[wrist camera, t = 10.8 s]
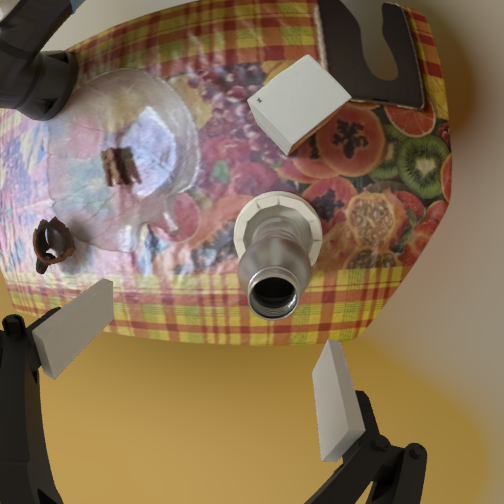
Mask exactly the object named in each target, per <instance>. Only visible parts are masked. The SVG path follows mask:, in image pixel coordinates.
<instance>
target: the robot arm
mask: <svg viewBox="0 0 504 504" xmlns="http://www.w3.org/2000/svg"><path fill="white" fill-rule="evenodd" d="M84 1H85V0H0V108H7V109H16V110H18V111H19V112H21V113H22V114H24V115H26V116H27V117H29V118H30V119H33V120H38V121H45V120H48V119H50V118H52V117H53V116H55V115H56V114H57V113H58V112H59V111H60V110H61V108H62V107H63V106H64V104H65V103H66V101H67V100H68V98H69V96H70V94H71V92H72V90H73V87H74V85H75V82H76V78H77V72H78V64H77V60H76V58H75V56H74V55H73V54H71V53H68V52H66V51H61V50H59V51H43V52H40V50H41V49H42V48H43V47H44V45H45V44H46V43H47V42H48V40H49V39H50V38H51V37H52V36H53V34H54V33H55V32H56V31H57V30H58V29H59V27H60V26H61V25H62V24H63V23H64V22H65V21H66V20H67V19H68V18H69V17H70V15H72V14H74V13H75V11H76V9H77V8H78V7H79V6H80V5H81V4H82V3H83V2H84ZM113 319H114V317H113V281H110V280H107V279H104V278H103V279H101V280H100V281H99V282H97V283H96V284H94V285H93V286H91V287H90V288H89V289H87V290H86V291H84V292H83V293H82V294H80V295H79V296H77V297H76V298H75V299H73V300H72V301H71V302H69V303H68V304H67V305H65V306H64V307H62V308H61V307H57V308H54V309H51V310H50V311H48V312H47V313H46V314H45V315H43V316H42V317H41V318H39V319H38V320H36V321H35V322H34V323H32V324H31V325H30V326H28V327H27V328H26V327H25V323H24V319H23V318H22V316H20V315H16V314H13V315H9V316H6V317H5V318H4V319H3V321H2V325H3V328H4V331H2V330H0V504H63V501H62V499H61V497H60V495H59V493H58V491H57V489H56V487H55V484H54V480H53V476H52V472H51V469H50V464H49V459H48V455H47V449H46V443H45V437H44V430H43V423H42V414H41V402H40V385H39V371H38V368H39V367H40V366H41V365H42V368H43V371H44V373H45V374H46V375H48V376H49V377H51V378H52V379H54V380H55V379H56V378H57V377H58V376H59V375H60V374H61V373H62V372H63V370H64V369H65V368H66V367H67V366H68V365H69V364H70V363H71V362H72V361H73V360H74V359H75V357H76V356H78V355H79V353H80V352H81V351H82V350H83V349H84V348H85V347H86V346H87V345H88V344H89V343H90V342H91V341H92V340H93V339H94V338H95V337H96V335H98V334H99V333H100V332H101V331H102V330H103V329H104V328H105V327H106V326H107V325H108V324H109V323H110V322H111V321H112V320H113ZM312 376H313V385H314V393H315V401H316V411H317V419H318V429H319V440H320V451H321V461H322V462H337V461H338V460H339V459H340V458H341V457H342V458H343V464H342V465H340V466H339V467H338V468H337V469H336V470H335V471H334V473H333V475H332V476H331V477H330V478H329V479H328V480H327V481H326V482H325V483H324V484H323V485H322V486H321V488H319V490H318V491H317V492H316V493H315V494H314V495H313V496H312V497H311V498H309V499H308V500H307V501H306V502H305V503H304V504H355V503H356V501H357V500H358V499H359V497H360V496H361V495H362V493H363V492H364V490H365V489H366V488H367V486H368V485H369V484H370V482H371V481H373V485H372V488H371V491H370V493H369V496H368V499H367V501H366V504H420V500H421V495H422V489H423V484H424V478H425V471H426V463H427V451H426V450H425V448H424V447H423V446H422V445H420V444H418V443H411V444H409V445H408V446H406V447H405V448H400V447H396V446H393V445H391V444H390V442H389V440H388V439H387V438H386V437H384V436H382V435H380V433H379V430H378V426H377V423H376V420H375V416H374V413H373V410H372V407H371V404H370V400H369V398H368V396H367V395H366V394H365V393H364V391H356V390H354V386H353V382H352V379H351V376H350V372H349V369H348V365H347V362H346V359H345V355H344V352H343V349H342V346H341V343H340V341H337V340H331V339H328V340H327V342H326V345H325V347H324V349H323V351H322V354H321V356H320V358H319V360H318V362H317V364H316V366H315V368H314V370H313V372H312Z"/></svg>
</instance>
